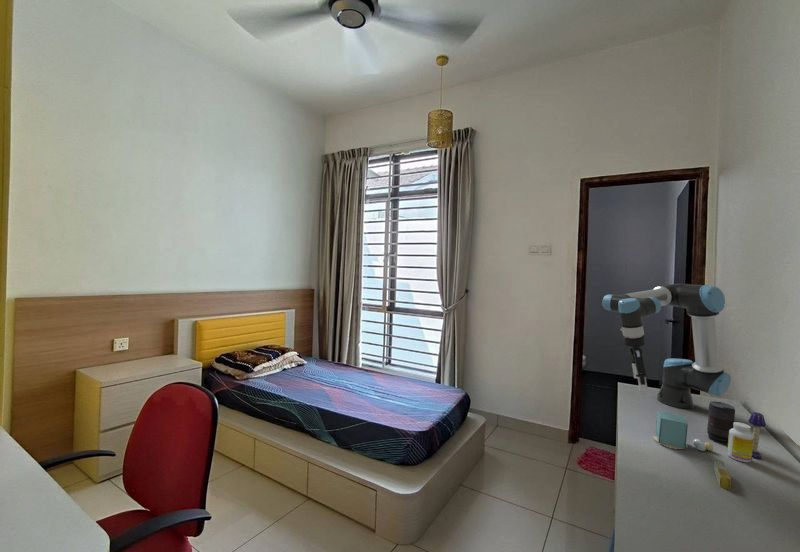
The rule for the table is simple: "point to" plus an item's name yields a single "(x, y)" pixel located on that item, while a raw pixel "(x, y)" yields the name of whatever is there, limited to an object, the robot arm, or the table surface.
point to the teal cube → (671, 429)
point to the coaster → (667, 445)
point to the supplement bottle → (740, 442)
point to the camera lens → (720, 421)
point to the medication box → (722, 475)
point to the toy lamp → (756, 432)
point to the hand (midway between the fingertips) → (640, 384)
